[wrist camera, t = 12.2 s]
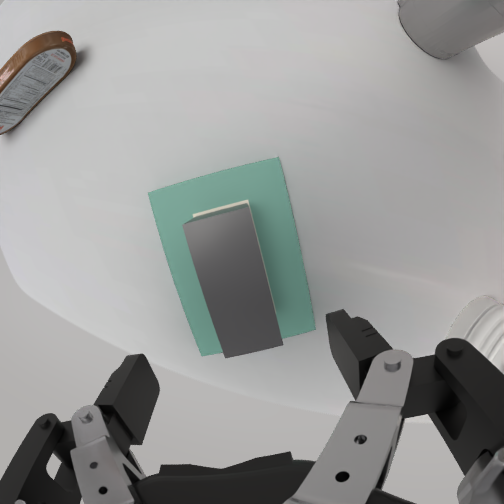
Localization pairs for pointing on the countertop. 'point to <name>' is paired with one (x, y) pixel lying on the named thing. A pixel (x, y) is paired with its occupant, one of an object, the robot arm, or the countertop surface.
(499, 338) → the honey pot
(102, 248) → the countertop surface
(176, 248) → the header board
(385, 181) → the countertop surface
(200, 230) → the block
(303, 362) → the countertop surface
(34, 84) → the tin
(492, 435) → the robot arm
